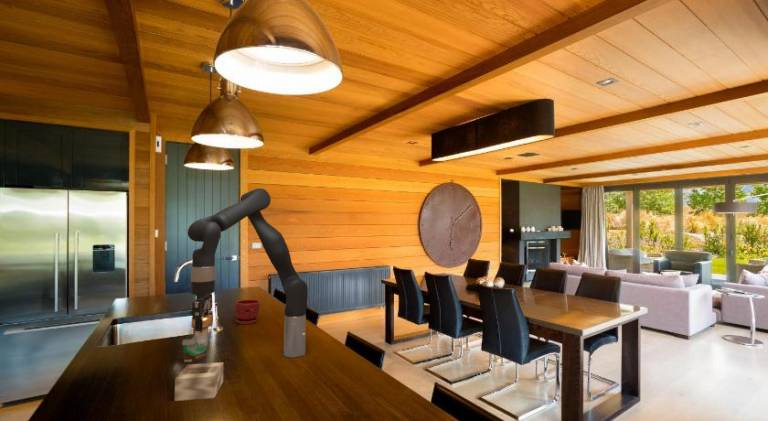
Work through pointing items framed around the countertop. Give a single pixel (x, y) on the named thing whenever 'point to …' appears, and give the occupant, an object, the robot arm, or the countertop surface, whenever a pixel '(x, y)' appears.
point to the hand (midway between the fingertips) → (201, 327)
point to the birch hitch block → (199, 381)
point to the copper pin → (202, 336)
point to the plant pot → (247, 311)
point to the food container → (193, 351)
